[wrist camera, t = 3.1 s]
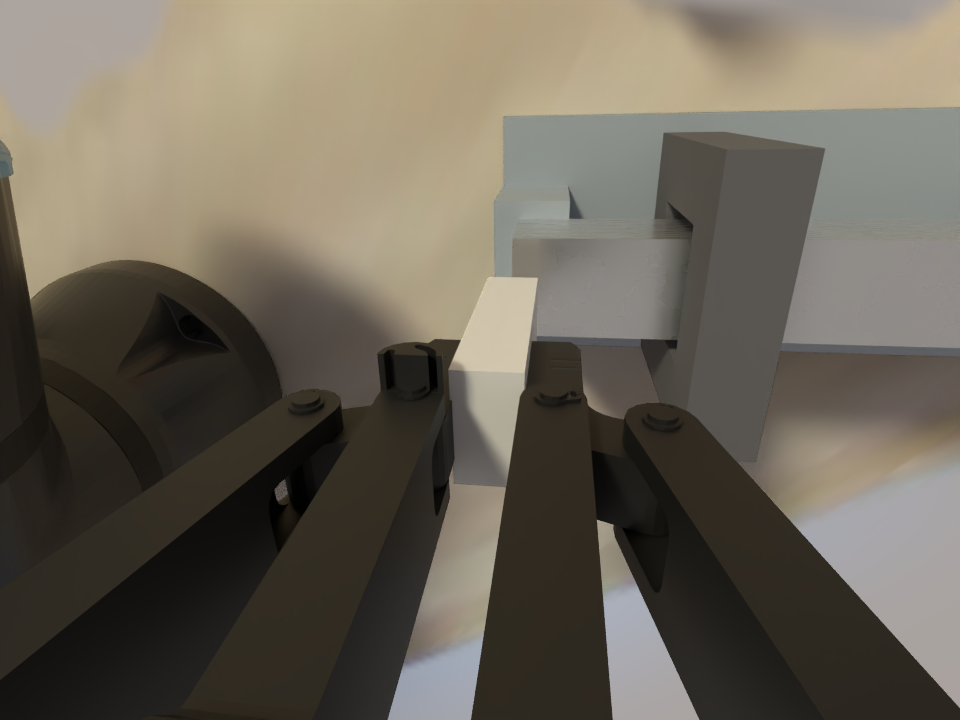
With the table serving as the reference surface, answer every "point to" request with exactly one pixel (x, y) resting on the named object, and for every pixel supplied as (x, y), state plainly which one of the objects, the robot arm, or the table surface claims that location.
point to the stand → (638, 137)
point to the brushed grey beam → (817, 293)
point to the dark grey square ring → (732, 274)
